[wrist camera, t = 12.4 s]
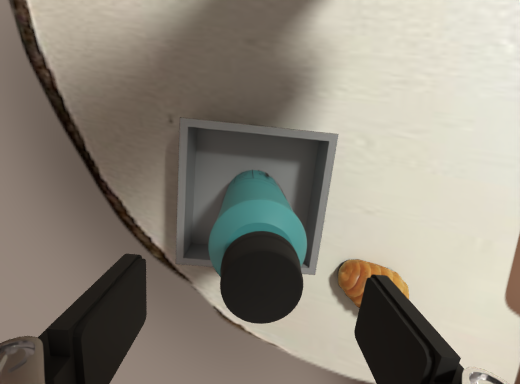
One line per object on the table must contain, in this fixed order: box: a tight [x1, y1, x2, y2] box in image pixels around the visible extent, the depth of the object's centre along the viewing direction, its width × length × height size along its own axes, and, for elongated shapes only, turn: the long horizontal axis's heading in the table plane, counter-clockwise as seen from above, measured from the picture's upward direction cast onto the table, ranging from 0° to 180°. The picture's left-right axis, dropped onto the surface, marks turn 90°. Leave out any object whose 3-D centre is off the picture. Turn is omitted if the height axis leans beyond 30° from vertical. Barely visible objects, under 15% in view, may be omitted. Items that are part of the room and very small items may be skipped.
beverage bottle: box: [208, 169, 307, 324], centre depth 21 cm, size 6×7×20 cm
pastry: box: [338, 259, 409, 308], centre depth 33 cm, size 9×7×4 cm
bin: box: [176, 117, 338, 275], centre depth 29 cm, size 16×16×5 cm
